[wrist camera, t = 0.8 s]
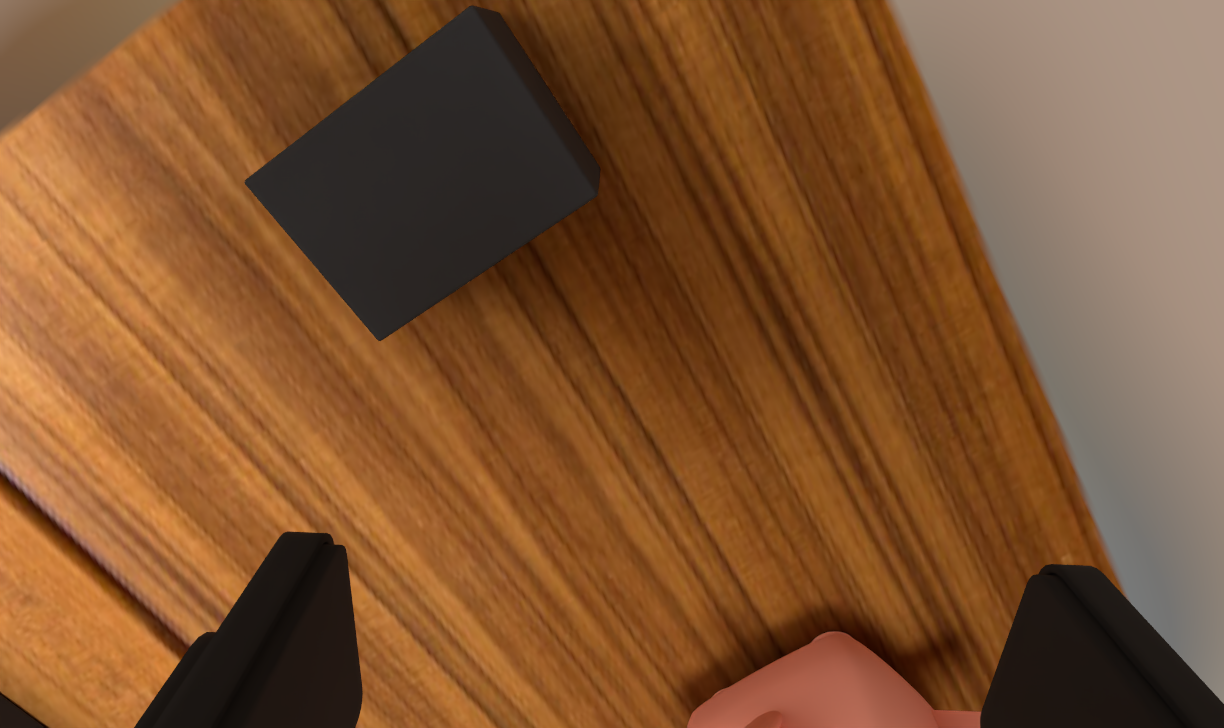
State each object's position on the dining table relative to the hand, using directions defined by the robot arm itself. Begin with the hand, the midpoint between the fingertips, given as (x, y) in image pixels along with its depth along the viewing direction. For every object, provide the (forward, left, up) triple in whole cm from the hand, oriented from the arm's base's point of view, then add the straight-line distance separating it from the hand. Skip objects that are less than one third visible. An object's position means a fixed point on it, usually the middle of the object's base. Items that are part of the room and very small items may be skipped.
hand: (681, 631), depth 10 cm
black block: (-7, -2, -14) cm, 16 cm away
